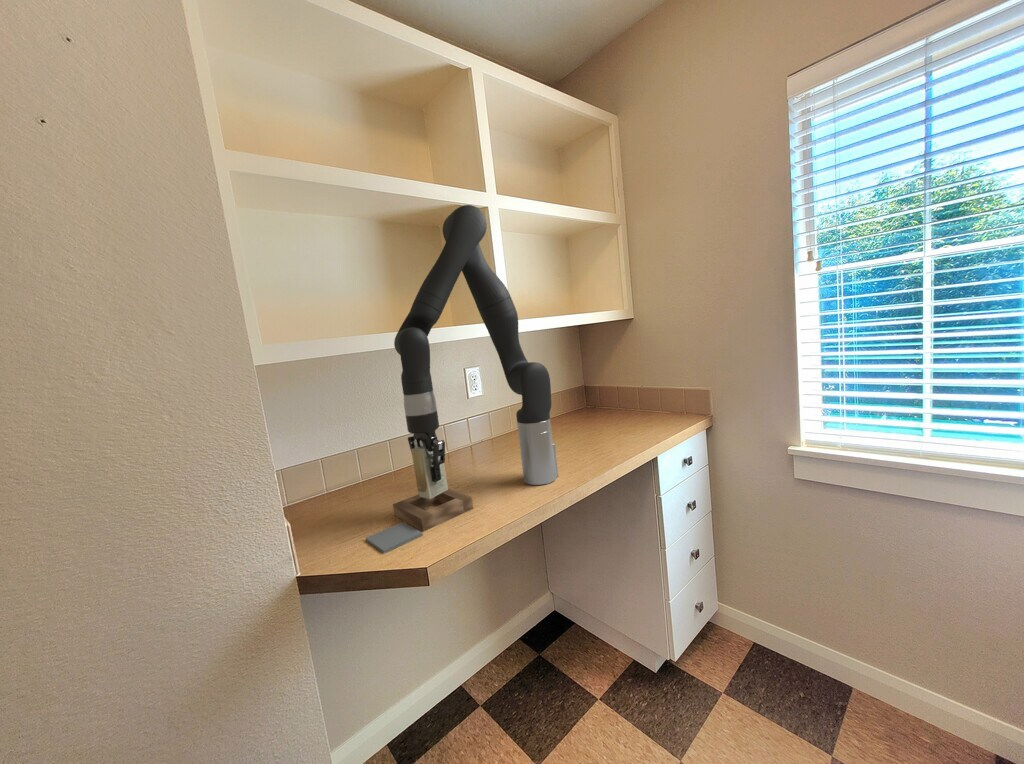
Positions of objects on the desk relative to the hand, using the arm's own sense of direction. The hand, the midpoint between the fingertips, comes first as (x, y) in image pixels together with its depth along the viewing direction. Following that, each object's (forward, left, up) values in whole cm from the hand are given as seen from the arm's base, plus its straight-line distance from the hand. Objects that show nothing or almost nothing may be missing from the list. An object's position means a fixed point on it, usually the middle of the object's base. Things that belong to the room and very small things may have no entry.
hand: (431, 478), depth 99 cm
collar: (+1, 0, -8) cm, 8 cm away
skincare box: (0, 0, -4) cm, 4 cm away
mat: (+13, +4, -8) cm, 16 cm away
